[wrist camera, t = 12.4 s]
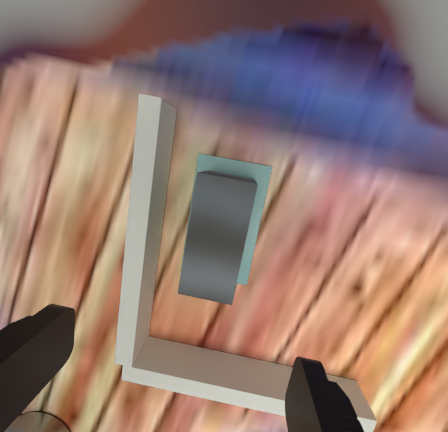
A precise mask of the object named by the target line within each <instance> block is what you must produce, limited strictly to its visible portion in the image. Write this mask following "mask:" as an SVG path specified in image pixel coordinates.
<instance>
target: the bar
mask: <svg viewBox="0 0 448 432" xmlns="http://www.w3.org/2000/svg"><path fill="white" fill-rule="evenodd" d="M257 186H258V184H257V182H256V181H255V179H252V178H247V177H241V176H236V175H231V174H226V173H221V172H215V171H210V170H208V171H202V172H197V175H196V182H195V188H194V194H193V201H192V207H191V213H190V220H189V226H188V232H187V239H186V245H185V251H184V258H183V264H182V270H181V277H180V283H179V289H178V294H183V295H187V296H192V297H197V298H201V299H206V300H211V301H215V302H220V303H225V304H230V305H232V302H233V298H234V293H235V288H236V284H237V279H238V274H239V270H240V265H241V260H242V256H243V251H244V247H245V242H246V237H247V233H248V228H249V223H250V219H251V214H252V209H253V205H254V200H255V195H256V191H257Z"/></svg>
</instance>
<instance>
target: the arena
mask: <svg viewBox="0 0 448 432" xmlns="http://www.w3.org/2000/svg"><path fill="white" fill-rule="evenodd" d="M176 115H177V110H176V109H175V108H174V107H173V106H171V105H170V104H169V103H168V102H166V101H165V100H164V99H163V98H160V97H155V96H149V95H143V94H139V100H138V111H137V121H136V132H135V143H134V154H133V165H132V176H131V187H130V197H129V208H128V219H127V230H126V241H125V252H124V263H123V273H122V284H121V295H120V306H119V317H118V328H117V339H116V349H115V360H114V363H115V364H119V365H123V369H122V379H121V380H124V381H128V382H133V383H137V384H142V385H146V386H151V387H155V388H160V389H164V390H169V391H173V392H178V393H182V394H187V395H191V396H196V397H200V398H205V399H209V400H214V401H218V402H223V403H227V404H232V405H236V406H241V407H245V408H250V409H254V410H259V411H263V412H268V413H272V414H277V415H281V416H285V395H286V390H287V387H288V383H289V380H290V376H291V373H292V369H293V367H290V366H286V365H281V364H276V363H272V362H267V361H262V360H258V359H253V358H248V357H244V356H239V355H234V354H229V353H225V352H220V351H215V350H211V349H206V348H201V347H197V346H192V345H187V344H183V343H178V342H173V341H169V340H164V339H159V338H155V337H150V336H149V330H150V322H151V314H152V306H153V298H154V290H155V282H156V274H157V266H158V258H159V250H160V242H161V234H162V227H163V219H164V211H165V203H166V195H167V187H168V179H169V171H170V163H171V155H172V147H173V139H174V131H175V123H176ZM326 375H327V378H328V380H329V381H333V382H336V383H337V384H338V385H339V386H340V388H341V389H342V390H343V391H344V392H345V394H346V395H347V396H348V397H349V399H350V401H351V403H352V406H353V408H354V410H355V412H356V414H357V419H358V420H359V421H360V423H361V425H362V428H363V430H364V432H373V430H374V428H375V425H376V423H377V420H376V418H375V416H374V414H373V412H372V410H371V408H370V406H369V404H368V402H367V400H366V399H365V397H364V395H363V393H362V391H361V389H360V387H359V385H358V383H357V381H356V380H351V379H347V378H342V377H337V376H332V375H328V374H326Z"/></svg>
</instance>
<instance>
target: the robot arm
mask: <svg viewBox="0 0 448 432" xmlns="http://www.w3.org/2000/svg"><path fill="white" fill-rule="evenodd" d="M74 329H75V310H74V309H73V308H69V307H64V306H60V305H55V304H50V305H48V306H46V307H45V308H43V309H42V310H41V311H39V312H38V313H36V314H35V315H34V316H27V317H25V318H23V319H20V320H18V321H16V322H13V323H11V324H9V325H7V326H6V327H4V328H3V329H2V330H0V432H69V430H68V428H67V427H66V426H65V425H64V424H63V423H62V422H61V421H60V420H58V419H57V418H55V417H53V416H51V415H49V414H46V413H42V412H30V413H27V414H24V415H20V414H21V413H22V411H23V410H24V409H25V408H26V407H27V406H28V405H29V404H30V402H31V401H32V400H33V399H34V398H35V397H36V396H37V395H38V394H39V392H40V391H41V390H42V389H43V388H44V387H45V386H46V385H47V384H48V382H49V381H50V380H51V379H52V378H53V377H54V376H55V375H56V373H57V372H58V371H59V370H60V369H61V368H62V367H63V366H64V364H65V363H66V362H67V360H68V359H69V357H70V355H71V352H72V350H73V346H74ZM285 416H286V422H287V428H288V432H364V430H363V428H362V425H361V423H360V421H359V420H358V419H357V414H356V412H355V410H354V408H353V406H352V403H351V401H350V399H349V397H348V396H347V395H346V394H345V392H344V391H343V390H342V389H341V388H340V386H339V385H338V384H337V383H336V382H333V381H329V380H328V378H327V375H326V373H325V370H324V368H323V365H322V363H321V362H320V361H316V360H312V359H307V358H302V357H297V358H296V359H295V362H294V366H293V369H292V373H291V376H290V380H289V383H288V387H287V390H286V395H285Z"/></svg>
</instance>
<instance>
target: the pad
mask: <svg viewBox="0 0 448 432" xmlns="http://www.w3.org/2000/svg"><path fill="white" fill-rule="evenodd" d="M208 170H210V171H215V172H221V173H226V174H231V175H236V176H241V177H247V178H252V179H255V181H256V182H257V184H258V186H257V191H256V195H255V200H254V205H253V209H252V214H251V219H250V223H249V228H248V233H247V237H246V242H245V247H244V251H243V256H242V260H241V265H240V270H239V274H238V279H237V283H238V284H243V285H247V281H248V277H249V272H250V267H251V263H252V258H253V253H254V249H255V244H256V240H257V235H258V230H259V226H260V221H261V216H262V212H263V207H264V203H265V198H266V193H267V189H268V184H269V179H270V175H271V170H272V167H271V166H265V165H259V164H254V163H248V162H243V161H237V160H232V159H226V158H221V157H215V156H210V155H204V154H198V161H197V168H196V174H195V181H194V188H195V182H196V175H197V172H202V171H208ZM194 188H193V194H194ZM193 194H192V201H193ZM192 201H191V207H192ZM190 213H191V208H190ZM189 220H190V215H189ZM188 226H189V221H188ZM187 232H188V228H187ZM186 239H187V235H186ZM185 245H186V241H185ZM184 251H185V248H184ZM183 258H184V255H183ZM182 264H183V262H182ZM181 270H182V268H181Z"/></svg>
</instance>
